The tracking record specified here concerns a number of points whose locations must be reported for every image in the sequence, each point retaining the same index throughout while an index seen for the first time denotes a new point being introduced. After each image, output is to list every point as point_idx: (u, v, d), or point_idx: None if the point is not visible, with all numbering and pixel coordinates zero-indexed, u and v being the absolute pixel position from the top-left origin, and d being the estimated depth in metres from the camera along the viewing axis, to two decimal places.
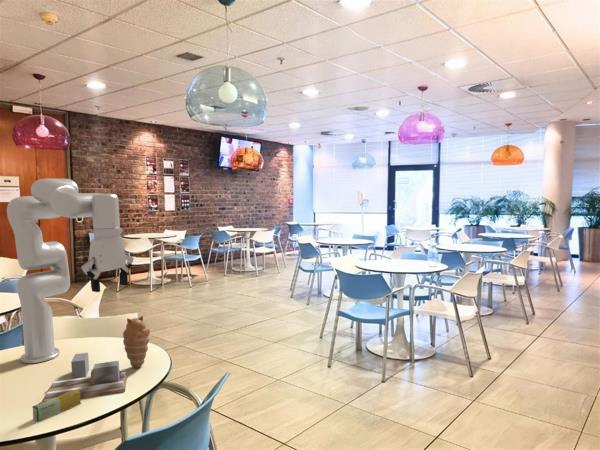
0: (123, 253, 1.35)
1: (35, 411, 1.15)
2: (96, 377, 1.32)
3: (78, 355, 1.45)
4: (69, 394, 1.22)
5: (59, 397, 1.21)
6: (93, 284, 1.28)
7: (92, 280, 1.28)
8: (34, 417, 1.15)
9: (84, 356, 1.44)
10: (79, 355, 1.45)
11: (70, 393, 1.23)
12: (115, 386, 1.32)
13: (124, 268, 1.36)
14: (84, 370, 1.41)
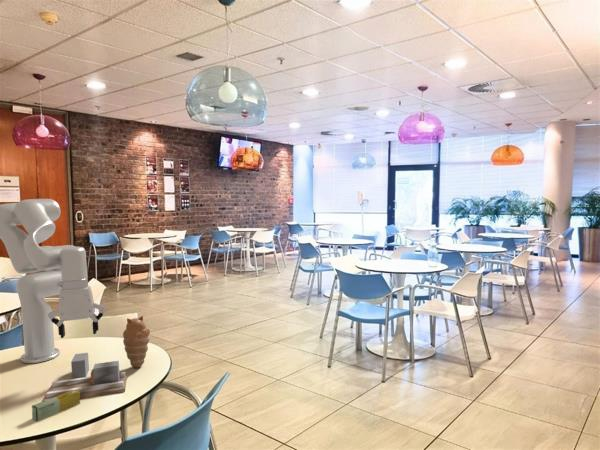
0: None
1: (34, 410, 1.15)
2: (96, 377, 1.32)
3: (78, 355, 1.45)
4: (69, 394, 1.23)
5: (58, 396, 1.21)
6: (97, 325, 1.45)
7: (97, 322, 1.45)
8: (33, 416, 1.16)
9: (84, 356, 1.44)
10: (79, 355, 1.45)
11: (69, 393, 1.23)
12: (115, 386, 1.32)
13: None
14: (84, 370, 1.41)
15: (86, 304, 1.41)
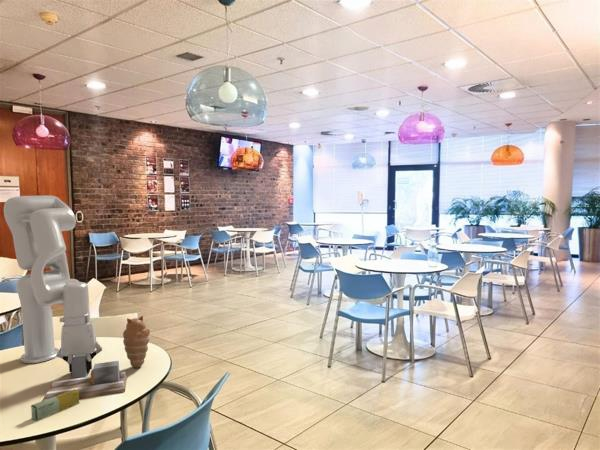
0: None
1: (33, 410, 1.15)
2: (96, 377, 1.32)
3: (78, 355, 1.45)
4: (68, 393, 1.23)
5: (58, 396, 1.21)
6: (91, 363, 1.46)
7: (91, 360, 1.45)
8: (32, 416, 1.16)
9: (84, 356, 1.44)
10: (79, 355, 1.45)
11: (69, 392, 1.23)
12: (115, 386, 1.32)
13: None
14: (84, 369, 1.41)
15: (88, 339, 1.42)
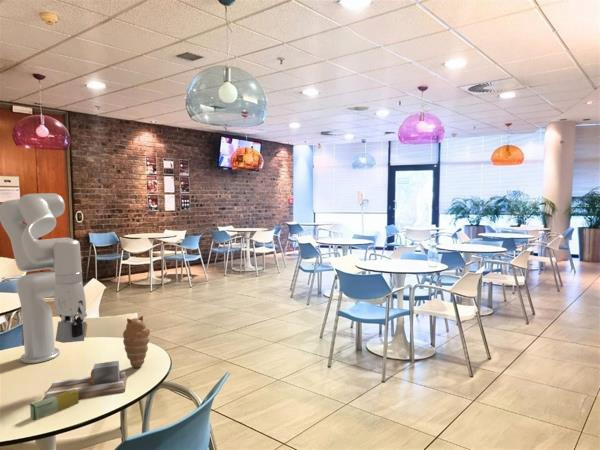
0: None
1: (32, 409, 1.16)
2: (96, 377, 1.32)
3: None
4: (67, 393, 1.23)
5: (57, 396, 1.22)
6: (80, 328, 1.36)
7: (79, 325, 1.35)
8: (31, 415, 1.16)
9: None
10: None
11: (68, 392, 1.24)
12: (115, 386, 1.32)
13: None
14: (63, 334, 1.33)
15: (68, 302, 1.32)
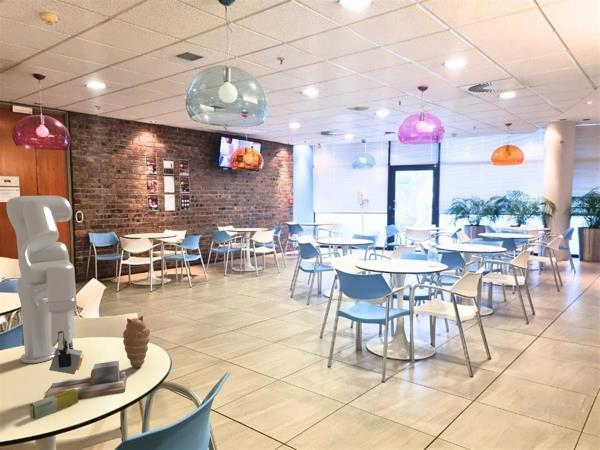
0: None
1: (31, 409, 1.16)
2: (96, 377, 1.32)
3: (76, 351, 1.32)
4: (67, 393, 1.23)
5: (56, 395, 1.22)
6: (65, 359, 1.28)
7: (64, 356, 1.27)
8: (31, 415, 1.17)
9: None
10: (75, 351, 1.32)
11: (67, 392, 1.24)
12: (115, 386, 1.32)
13: (71, 341, 1.33)
14: (52, 361, 1.28)
15: None
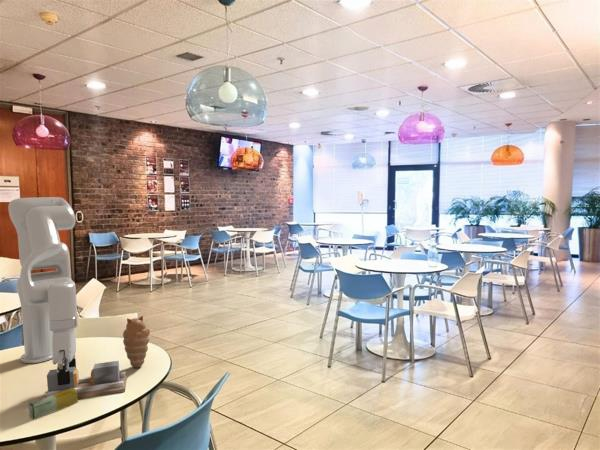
0: (75, 339, 1.35)
1: (31, 408, 1.16)
2: (96, 377, 1.32)
3: (68, 369, 1.32)
4: (66, 392, 1.24)
5: (56, 395, 1.22)
6: (64, 377, 1.26)
7: (63, 373, 1.26)
8: (30, 414, 1.17)
9: None
10: None
11: (67, 391, 1.24)
12: (115, 386, 1.32)
13: (73, 354, 1.35)
14: (48, 386, 1.28)
15: None
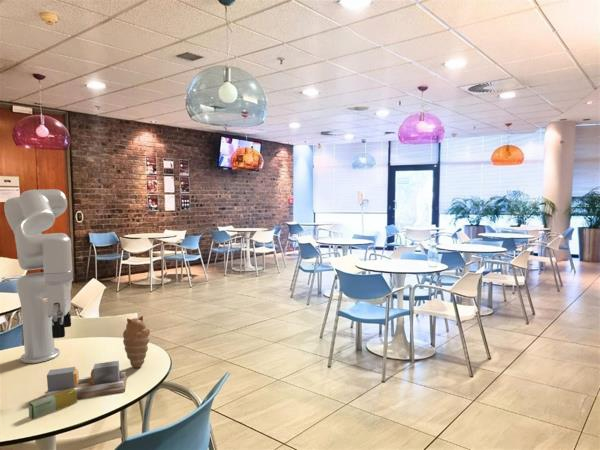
0: (70, 294, 1.34)
1: (30, 408, 1.16)
2: (96, 377, 1.32)
3: (68, 369, 1.32)
4: (66, 392, 1.23)
5: (55, 395, 1.22)
6: (59, 330, 1.25)
7: (57, 326, 1.25)
8: (29, 414, 1.17)
9: (59, 372, 1.29)
10: (67, 369, 1.31)
11: (66, 391, 1.24)
12: (115, 386, 1.32)
13: (68, 309, 1.35)
14: (48, 386, 1.28)
15: None
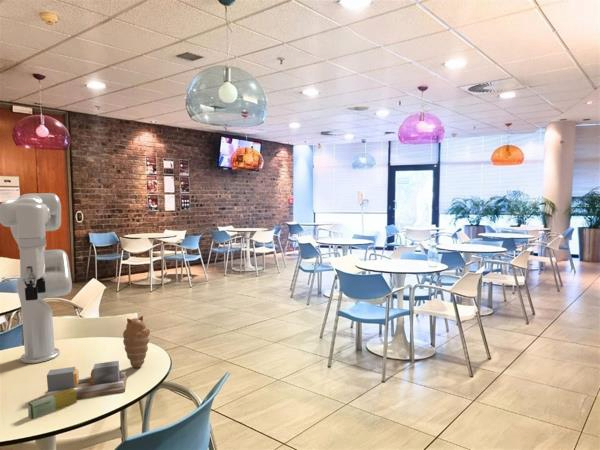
0: (44, 261, 1.40)
1: (30, 408, 1.16)
2: (96, 377, 1.32)
3: (68, 369, 1.32)
4: (65, 392, 1.23)
5: (55, 395, 1.22)
6: (32, 292, 1.31)
7: (30, 289, 1.31)
8: (29, 414, 1.17)
9: (59, 372, 1.29)
10: (67, 369, 1.31)
11: (66, 391, 1.24)
12: (115, 386, 1.32)
13: (43, 276, 1.41)
14: (48, 386, 1.28)
15: None
